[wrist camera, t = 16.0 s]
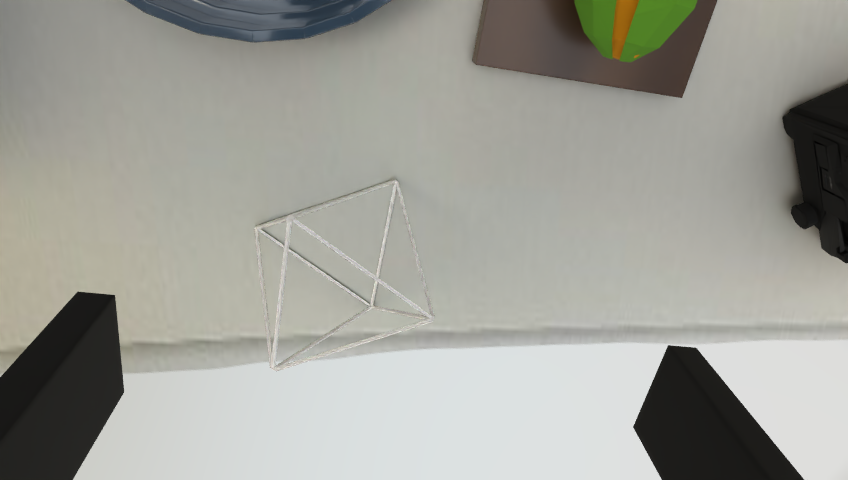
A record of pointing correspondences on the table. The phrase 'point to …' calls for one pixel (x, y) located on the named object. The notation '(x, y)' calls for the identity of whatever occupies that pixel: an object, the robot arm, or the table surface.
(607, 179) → the table surface
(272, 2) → the bowl
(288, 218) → the geometric polyhedron
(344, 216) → the table surface
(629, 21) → the corn
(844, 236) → the camera
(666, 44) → the walnut board
